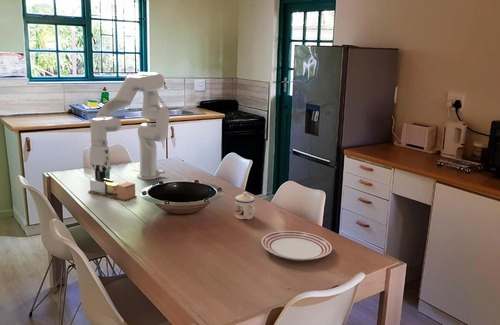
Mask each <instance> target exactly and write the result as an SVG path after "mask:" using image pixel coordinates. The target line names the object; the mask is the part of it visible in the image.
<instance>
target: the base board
mask: <svg viewBox="0 0 500 325" xmlns="http://www.w3.org/2000/svg"><path fill="white" fill-rule="evenodd" d="M87 193H88V194H90V195H95V196H100V197H103V198H106V199H111V200H115V201H119V202H124V203H126V202H127V203H128V202H129V201H132V200H135V199H137V197H138V195H135V196H134V197H131V198H129V199H126V200H125V199H121V198H118V193H115V194H112V193H107V194H102V193H98V192H93V191H90V190H88V192H87Z"/></svg>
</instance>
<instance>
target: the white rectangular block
mask: <svg viewBox="0 0 500 325" xmlns="http://www.w3.org/2000/svg"><path fill="white" fill-rule="evenodd" d="M104 181H109V182H113V183H114V180H113V179H111V178H110V179H106V178H104ZM89 184H90V185H89V188H90V190H89V191H93V192H98V193H102V194H107V193H108V192H106V186H105V184H106V182H103V181H98V180H97V178H95V177H94V178H91V179H89Z"/></svg>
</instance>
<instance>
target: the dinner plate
mask: <svg viewBox="0 0 500 325" xmlns="http://www.w3.org/2000/svg"><path fill="white" fill-rule="evenodd" d="M261 245H262V247H263V248H264V249H265V250H266V251H268V252H269V253H271V254H272V255H275V256H277V257H279V258H283V259H286V260H291V261H313V260H317V259H321V258H323V257H326V256H329V255H330V253H332V250H333V247H332V245H331V243H330V242H329V241H328V240H327V239H325V238H323V237H321V236H319V235H316V234H313V233H309V232H304V231H297V230H282V231H281V230H279V231H275V232H270V233H268V234H266V235H264V236H263V237H262V239H261Z"/></svg>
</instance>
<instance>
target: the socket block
mask: <svg viewBox="0 0 500 325" xmlns="http://www.w3.org/2000/svg"><path fill="white" fill-rule="evenodd" d="M134 196H136V183H135V182H134V183H133V182H129V181H126V182H124V183H123V182H122V183H119V185H118V198H121V199H125V200H126V199H129V198H131V197H134Z"/></svg>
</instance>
